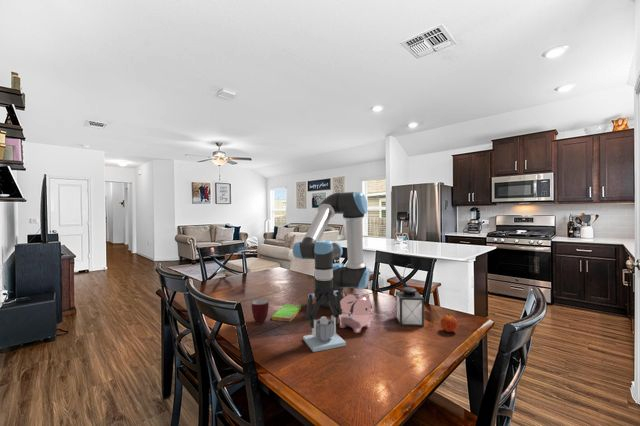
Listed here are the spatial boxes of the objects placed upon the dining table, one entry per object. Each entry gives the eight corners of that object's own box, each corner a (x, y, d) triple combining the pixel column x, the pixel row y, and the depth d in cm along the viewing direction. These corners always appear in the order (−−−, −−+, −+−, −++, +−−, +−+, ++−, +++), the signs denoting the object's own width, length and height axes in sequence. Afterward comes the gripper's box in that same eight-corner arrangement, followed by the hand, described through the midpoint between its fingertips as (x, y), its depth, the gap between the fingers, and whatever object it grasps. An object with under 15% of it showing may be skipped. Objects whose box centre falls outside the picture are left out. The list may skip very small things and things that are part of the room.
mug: (266, 327, 137) (265, 306, 137) (248, 327, 137) (248, 306, 137) (269, 319, 147) (269, 299, 147) (253, 319, 147) (253, 299, 147)
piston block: (333, 334, 129) (333, 310, 129) (345, 345, 118) (345, 320, 118) (303, 339, 124) (303, 315, 124) (313, 352, 113) (313, 325, 113)
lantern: (418, 318, 148) (417, 262, 148) (424, 326, 137) (423, 266, 137) (395, 317, 149) (395, 262, 149) (399, 326, 138) (399, 266, 138)
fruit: (456, 329, 133) (456, 311, 133) (458, 335, 127) (458, 317, 127) (440, 327, 136) (440, 310, 136) (441, 333, 129) (441, 315, 129)
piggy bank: (363, 338, 125) (363, 300, 125) (331, 327, 137) (330, 293, 137) (381, 327, 136) (381, 293, 136) (350, 318, 148) (350, 286, 148)
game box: (272, 322, 146) (285, 307, 166) (290, 324, 144) (302, 308, 164) (271, 316, 146) (285, 301, 166) (290, 317, 144) (302, 303, 164)
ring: (329, 329, 126) (329, 317, 126) (336, 336, 119) (336, 324, 119) (311, 332, 123) (311, 320, 123) (318, 339, 116) (318, 327, 116)
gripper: (342, 274, 128) (342, 326, 128) (296, 278, 120) (297, 334, 121) (350, 278, 121) (350, 333, 121) (302, 283, 113) (302, 341, 114)
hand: (323, 333), depth 121 cm, fingers closed on ring, 8 cm apart
